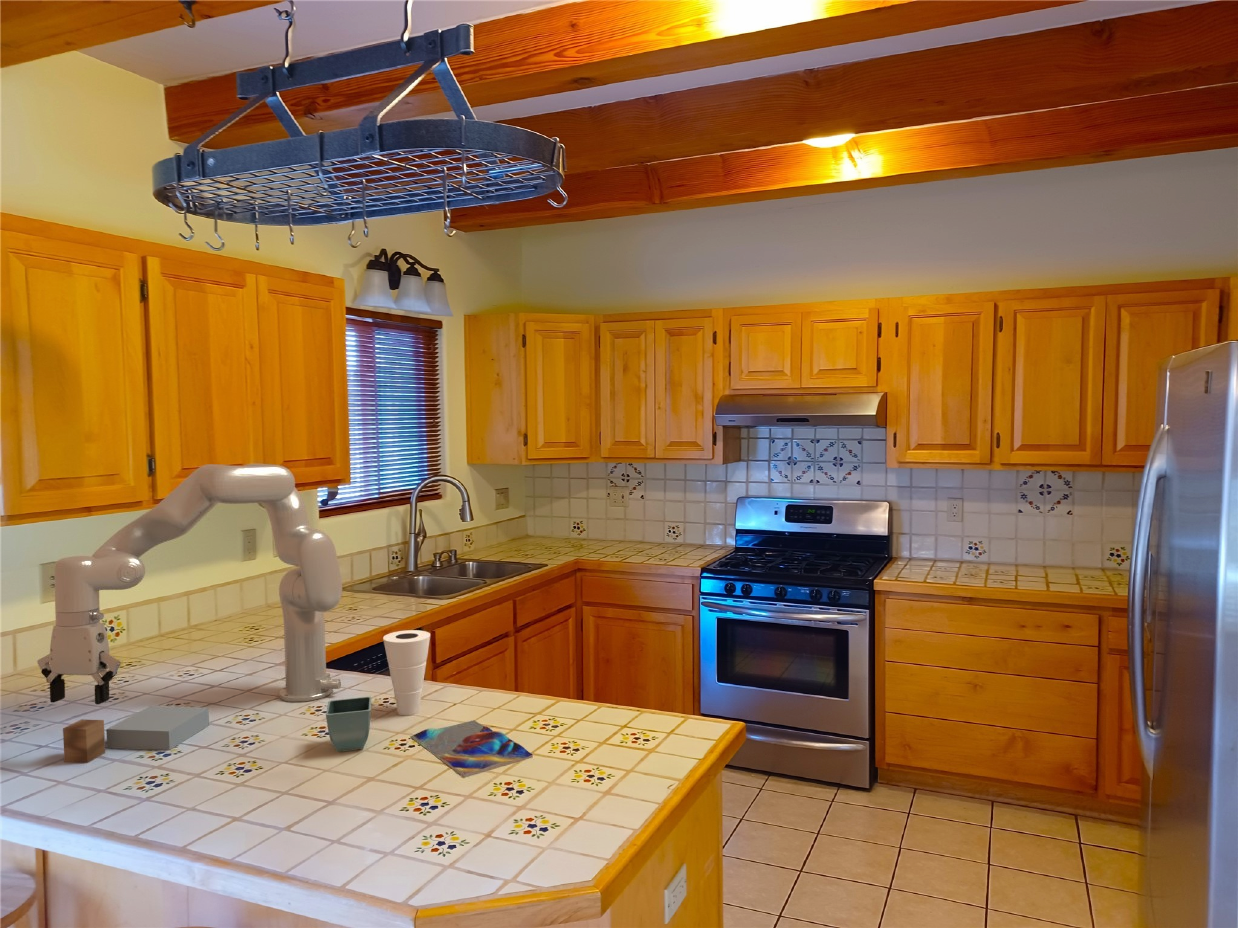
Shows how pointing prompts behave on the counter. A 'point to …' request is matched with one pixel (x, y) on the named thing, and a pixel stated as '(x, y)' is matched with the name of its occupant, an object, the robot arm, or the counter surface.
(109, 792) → the counter surface
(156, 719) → the pedestal
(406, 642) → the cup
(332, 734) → the flower pot
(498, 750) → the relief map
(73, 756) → the walnut block
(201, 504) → the robot arm
